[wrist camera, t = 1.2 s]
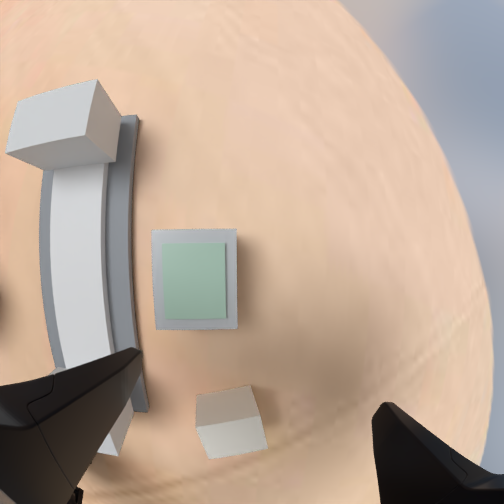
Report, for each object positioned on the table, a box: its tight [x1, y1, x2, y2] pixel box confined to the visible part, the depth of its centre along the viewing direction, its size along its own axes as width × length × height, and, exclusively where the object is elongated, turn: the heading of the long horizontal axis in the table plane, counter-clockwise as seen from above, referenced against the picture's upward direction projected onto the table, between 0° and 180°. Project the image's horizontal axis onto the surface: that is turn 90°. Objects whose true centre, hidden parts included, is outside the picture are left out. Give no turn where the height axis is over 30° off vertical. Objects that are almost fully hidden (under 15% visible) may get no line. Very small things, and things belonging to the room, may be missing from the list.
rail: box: [5, 79, 149, 456], centre depth 16 cm, size 9×26×8 cm, turn 0°
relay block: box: [195, 385, 268, 459], centre depth 20 cm, size 5×4×5 cm
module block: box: [152, 229, 238, 330], centre depth 18 cm, size 5×6×6 cm
